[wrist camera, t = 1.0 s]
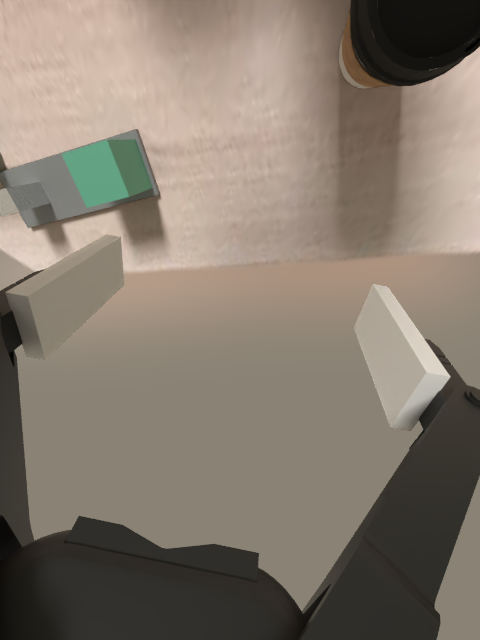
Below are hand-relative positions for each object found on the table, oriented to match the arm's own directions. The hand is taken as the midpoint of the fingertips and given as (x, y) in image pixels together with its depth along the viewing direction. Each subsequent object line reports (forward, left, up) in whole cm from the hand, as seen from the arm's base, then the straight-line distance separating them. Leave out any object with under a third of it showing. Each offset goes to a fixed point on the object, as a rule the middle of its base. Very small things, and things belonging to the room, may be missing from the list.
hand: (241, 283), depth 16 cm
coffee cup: (-11, +12, -25) cm, 30 cm away
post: (-7, -29, -24) cm, 38 cm away
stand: (-7, -23, -24) cm, 34 cm away
